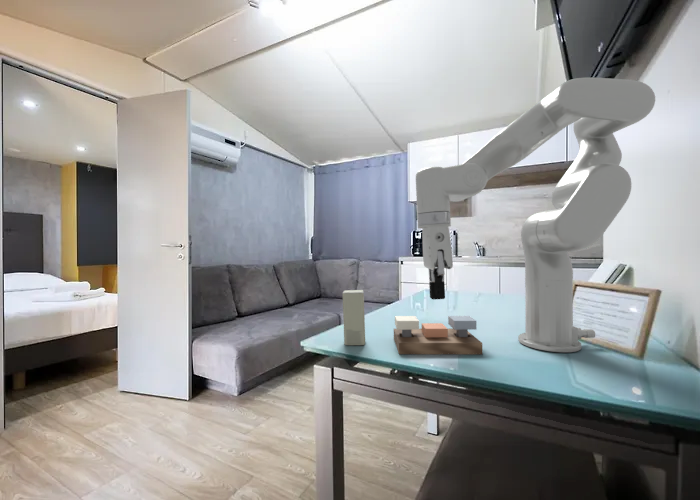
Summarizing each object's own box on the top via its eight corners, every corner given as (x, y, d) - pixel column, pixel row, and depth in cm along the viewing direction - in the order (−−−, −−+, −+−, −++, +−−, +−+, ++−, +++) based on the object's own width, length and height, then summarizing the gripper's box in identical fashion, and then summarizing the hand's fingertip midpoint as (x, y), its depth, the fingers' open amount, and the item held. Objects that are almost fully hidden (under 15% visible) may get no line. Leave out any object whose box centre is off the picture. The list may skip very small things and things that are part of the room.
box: (365, 340, 79) (365, 289, 79) (364, 346, 75) (364, 292, 75) (344, 340, 80) (344, 289, 80) (342, 345, 76) (342, 292, 75)
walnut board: (464, 338, 80) (464, 328, 80) (482, 354, 68) (482, 342, 68) (393, 338, 81) (393, 328, 81) (399, 354, 69) (398, 342, 69)
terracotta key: (442, 341, 77) (442, 323, 77) (447, 348, 72) (447, 328, 72) (421, 341, 77) (421, 323, 77) (425, 348, 72) (425, 328, 72)
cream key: (415, 334, 77) (415, 316, 77) (419, 340, 72) (418, 320, 72) (395, 334, 78) (394, 316, 78) (397, 340, 73) (397, 320, 72)
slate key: (469, 334, 77) (469, 315, 77) (476, 340, 72) (476, 320, 72) (448, 334, 77) (448, 315, 77) (454, 340, 72) (454, 320, 72)
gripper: (459, 217, 67) (463, 303, 67) (442, 222, 82) (445, 293, 82) (424, 219, 67) (428, 305, 67) (412, 224, 82) (416, 294, 82)
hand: (437, 298), depth 75 cm, fingers closed
